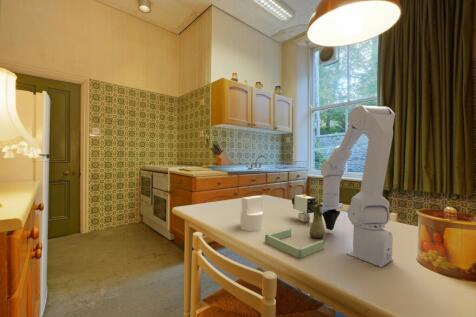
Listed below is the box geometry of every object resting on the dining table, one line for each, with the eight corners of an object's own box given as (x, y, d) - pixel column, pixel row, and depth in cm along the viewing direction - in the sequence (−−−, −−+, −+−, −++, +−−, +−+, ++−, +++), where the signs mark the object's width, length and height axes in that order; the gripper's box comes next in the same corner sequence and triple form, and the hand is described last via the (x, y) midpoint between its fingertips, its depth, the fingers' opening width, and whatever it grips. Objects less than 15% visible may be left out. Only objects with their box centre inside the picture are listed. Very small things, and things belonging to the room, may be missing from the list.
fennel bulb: (319, 234, 82) (320, 202, 82) (328, 239, 78) (329, 205, 78) (306, 235, 80) (307, 202, 80) (315, 240, 76) (316, 206, 76)
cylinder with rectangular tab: (251, 232, 82) (252, 200, 82) (235, 226, 89) (236, 196, 88) (267, 228, 88) (268, 197, 88) (251, 222, 95) (252, 194, 94)
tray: (323, 248, 69) (324, 241, 69) (299, 258, 62) (300, 250, 62) (289, 234, 81) (289, 228, 81) (265, 242, 73) (265, 234, 73)
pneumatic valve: (310, 225, 93) (311, 196, 92) (290, 218, 103) (291, 192, 103) (319, 223, 95) (320, 195, 95) (299, 216, 105) (300, 191, 105)
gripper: (331, 190, 91) (330, 223, 92) (310, 193, 83) (309, 229, 83) (348, 193, 86) (347, 228, 86) (327, 196, 77) (326, 235, 77)
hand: (329, 229), depth 84 cm, fingers closed
